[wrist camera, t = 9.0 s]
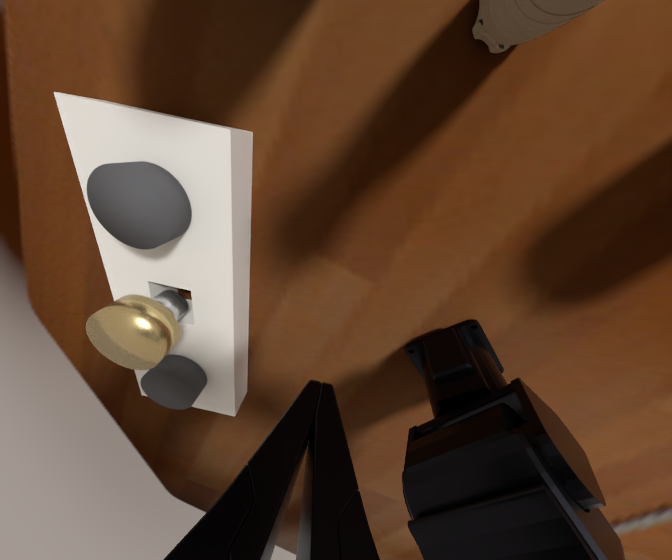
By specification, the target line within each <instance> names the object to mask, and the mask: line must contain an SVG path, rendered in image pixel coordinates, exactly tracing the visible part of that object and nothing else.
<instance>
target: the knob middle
mask: <svg viewBox="0 0 672 560" xmlns="http://www.w3.org/2000/svg"><path fill="white" fill-rule="evenodd" d="M187 311H188V303H187V301H186V299H185V298H184V297H183V296H182V295H181V294H180V293H178V292H176V291H173V290H164V291H162V292H161V293H159V294H158V295H156V296H155V297H154V298H152V299H151V298H148V297H145V296H142V295H135V294H131V295H125V296H123V297H121V298H119V299H117V300H116V301H114V302H113V303H111V304H109V305H108V306H106V307H104V308H103V309H101V310H99V311H98V312H96V313H95V314H93V315H91V316H90V317H89V318H88V320H87V322H86V332H87V335H88V337H89V339H90V341H91V342H92V344H93V345H94V346H95V347H96V349H97V350H98V351H99V352H100V353H102V354H103V355H104V356H105V357H107V358H108V359H110V360H111V361H113V362H115V363H117V364H119V365H121V366H123V367H126V368H130V369H134V370H148V369H151V368H154V367H155V366H156V365H157V364H158V363H159V362H160V361H161V360H162V359H163V358H164V357H165V356H166V355H167V354H168V353H169V352H170V351H171V350H172V349H173V348H174V347H175V346H176V345H177V344H178V342H179V341H180V338H181V330H180V326H179V324H178V322H177V321H178V320H179V319H180V318H181V317H182V316H183V315H184V314H185V313H186V312H187Z"/></svg>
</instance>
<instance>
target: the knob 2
mask: <svg viewBox="0 0 672 560" xmlns="http://www.w3.org/2000/svg"><path fill="white" fill-rule="evenodd" d="M206 384H207V376H206V374H205V372H204V371H203V369H202V368H201V367H200V366H199V364H196V363H195V362H194V361H192V360H190V359H188V358H186V357H183V356H180V355H166V356H165V357H164V358H163V359H162V360H161V361H160V362H159V363H158V364H157V365H156V366H155V367H154V368H151V369H150V370H149V371H148V372H147V373H146V374H145V375H144V376H143V377H142V378H141V387H142V389H143V391H144V392H145V394H146V395H147V396H148V397H149V398H150V399H152V400H153V401H154V402H156V403H158V404H160V405H162V406H164V407H167V408H170V409H175V410H184V409H188V408H190V407H191V406H192V405H193V404H194V402H195V401H196V399H197V398H198V396H199V395H200V393H201V392H202V390H203V389H204V387H205V386H206Z"/></svg>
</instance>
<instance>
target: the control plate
mask: <svg viewBox="0 0 672 560" xmlns="http://www.w3.org/2000/svg"><path fill="white" fill-rule="evenodd" d="M54 95H55V98H56V102H57V105H58V109H59V112H60V115H61V119H62V122H63V126H64V129H65V133H66V136H67V140H68V143H69V146H70V150H71V153H72V157H73V160H74V164H75V167H76V171H77V174H78V177H79V181H80V184H81V188H82V191H83V195H84V198H85V202H86V205H87V208H88V212H89V215H90V219H91V222H92V226H93V229H94V233H95V236H96V239H97V243H98V246H99V250H100V253H101V257H102V260H103V264H104V267H105V270H106V274H107V277H108V281H109V284H110V288H111V291H112V295H113V298H114V301H116V300H117V299H119V298H121V297H123V296H125V295H131V294H135V295H142V296H145V297H148V298H151V299H152V298H154V297H155V296H156V295H158V294H159V293H161V292H162V291H164V290H173V291H176V292H178V288H181V289H185V290H190V291H191V296H192V300H189V299H186V301H187V303H188V311H187V312H186V313H185V314H184V315H183V316H182V317H181V318H180V319H179V320H178V321H177V322H178V324H179V326H180V330H181V338H180V341H179V342H178V344H177V345H176V346H175V347H174V348H173V349H172V350H171V351H170V352H169V353H168V354H167V355H180V356H183V357H186V358H188V359H190V360H192V361H194V362H195V363H196V364H199V366H200V367H201V368H202V369H203V371H204V372H205V374H206V376H207V384H206V386H205V387H204V389H203V390H202V392H201V393H200V395H199V396H198V398H197V399H196V401H195V402H194V404H193V405H192V406H191V407H195V408H200V409H204V410H208V411H213V412H217V413H221V414H226V415H230V416H234V417H235V415H236V413H237V411H238V409H239V407H240V405H241V403H242V401H243V399H244V397H245V395H246V393H247V378H248V332H249V285H250V239H251V193H252V147H253V132H250V131H245V130H241V129H236V128H231V127H226V126H222V125H217V124H212V123H208V122H203V121H198V120H194V119H189V118H184V117H180V116H175V115H170V114H165V113H161V112H156V111H151V110H147V109H142V108H137V107H133V106H128V105H123V104H119V103H114V102H109V101H104V100H99V99H93V98H87V97H81V96H75V95H69V94H64V93H58V92H54ZM137 161H145V162H150V163H154V164H156V165H158V166H160V167H162V168H164V169H165V170H167V171H168V172H169V173H171V174H172V175H173V176H174V177H175V178H176V179H177V180H179V183H180V184H181V185H182V187H183V188H184V190H185V192H186V194H187V196H188V198H189V201H190V205H191V210H192V218H191V223H190V226H189V228H188V229H187V231H186V232H185V233H184V234H183V235H181V236H179V237H177V238H175V239H173V240H171V241H169V242H167V243H165V244H163V245H160V246H158V247H156V248H153V249H137V248H133V247H131V246H128V245H126V244H124V243H122V242H120V241H119V240H117V239H116V238H115V237H113V236H112V235H111V234H110V233H109V232H107V230H106V229H105V228H104V227H103V226H102V225H101V224H100V223H99V221H98V220H97V218H96V217H95V215H94V213H93V211H92V209H91V207H90V204H89V201H88V197H87V181H88V178H89V176H90V174H91V172H92V171H93V170H94V169H95V168H97V167H98V166H100V165H103V164H108V163H123V162H137ZM149 370H150V369H148V370H135V374H136V377H137V381H138V384H139V388H140V391H141V394H142V395H143V396H147V395H146V394H145V392H144V391H143V389H142V387H141V378H142V377H143V376H144V375H145V374H146V373H147V372H148V371H149Z"/></svg>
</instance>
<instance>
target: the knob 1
mask: <svg viewBox="0 0 672 560" xmlns="http://www.w3.org/2000/svg"><path fill="white" fill-rule="evenodd" d="M87 197H88V201H89V204H90V207H91V209H92V211H93V213H94V215H95V217H96V218H97V220H98V221H99V223H100V224H101V225H102V226H103V227H104V228H105V229H106V230H107V232H109V233H110V234H111V235H112V236H113V237H115V238H116V239H117V240H119V241H120V242H122V243H124V244H126V245H128V246H131V247H133V248H137V249H153V248H156V247H158V246H160V245H163V244H165V243H167V242H169V241H171V240H173V239H175V238H177V237H179V236H181V235H183V234H184V233H185V232H186V231H187V229H188V228H189V226H190V223H191V218H192V210H191V205H190V201H189V198H188V196H187V194H186V192H185V190H184V188H183V187H182V185H181V184H180V183H179V180H177V179H176V178H175V177H174V176H173V175H172V174H171V173H169V172H168V171H167V170H165V169H164V168H162V167H160V166H158V165H156V164H154V163H150V162H145V161H137V162H123V163H108V164H103V165H100V166H98V167H97V168H95V169H94V170H93V171H92V172H91V174H90V176H89V178H88V181H87Z"/></svg>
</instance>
